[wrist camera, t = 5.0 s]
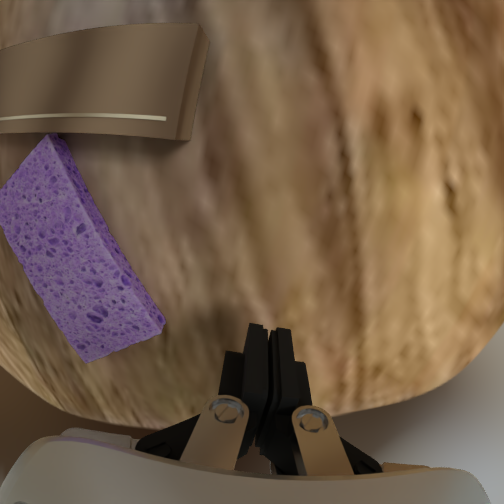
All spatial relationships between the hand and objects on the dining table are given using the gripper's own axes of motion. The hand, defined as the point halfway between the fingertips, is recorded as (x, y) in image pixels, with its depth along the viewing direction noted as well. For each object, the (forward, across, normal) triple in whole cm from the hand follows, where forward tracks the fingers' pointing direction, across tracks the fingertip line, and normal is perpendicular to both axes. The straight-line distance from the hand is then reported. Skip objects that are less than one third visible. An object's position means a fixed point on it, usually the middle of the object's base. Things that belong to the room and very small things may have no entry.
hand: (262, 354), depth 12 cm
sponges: (+5, +12, -1) cm, 13 cm away
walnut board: (+4, +17, -10) cm, 20 cm away
